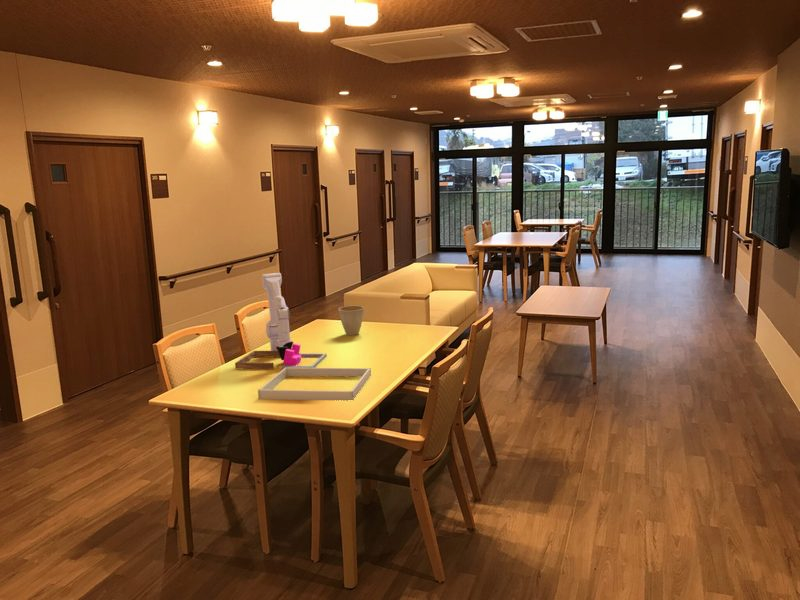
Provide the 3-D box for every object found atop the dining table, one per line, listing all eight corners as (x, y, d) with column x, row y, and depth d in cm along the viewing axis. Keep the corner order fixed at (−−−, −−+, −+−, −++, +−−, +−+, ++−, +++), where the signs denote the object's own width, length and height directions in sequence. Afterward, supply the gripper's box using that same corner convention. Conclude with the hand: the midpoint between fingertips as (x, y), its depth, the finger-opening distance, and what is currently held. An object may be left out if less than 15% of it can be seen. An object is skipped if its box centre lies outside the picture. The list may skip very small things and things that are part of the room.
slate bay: (297, 356, 340) (297, 353, 340) (326, 356, 337) (326, 353, 337) (281, 369, 317) (281, 366, 317) (312, 369, 314) (312, 366, 314)
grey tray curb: (285, 375, 307) (285, 367, 306) (371, 376, 299) (370, 368, 298) (258, 399, 275) (257, 390, 274) (353, 400, 267) (352, 391, 266)
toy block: (295, 367, 320) (297, 352, 318) (283, 364, 320) (285, 350, 319) (302, 359, 334) (305, 346, 333) (291, 356, 335) (293, 343, 334)
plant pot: (338, 337, 375) (336, 311, 372) (341, 331, 390) (340, 306, 387) (364, 336, 374) (362, 310, 371) (366, 330, 389) (364, 305, 386)
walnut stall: (254, 356, 344) (253, 350, 344) (289, 356, 341) (288, 350, 340) (235, 368, 322) (235, 363, 322) (273, 369, 318) (272, 363, 318)
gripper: (280, 329, 333) (282, 354, 335) (271, 335, 319) (274, 361, 321) (293, 328, 332) (295, 354, 334) (285, 334, 318) (287, 361, 320)
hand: (285, 357), depth 327 cm, fingers open, 7 cm apart
